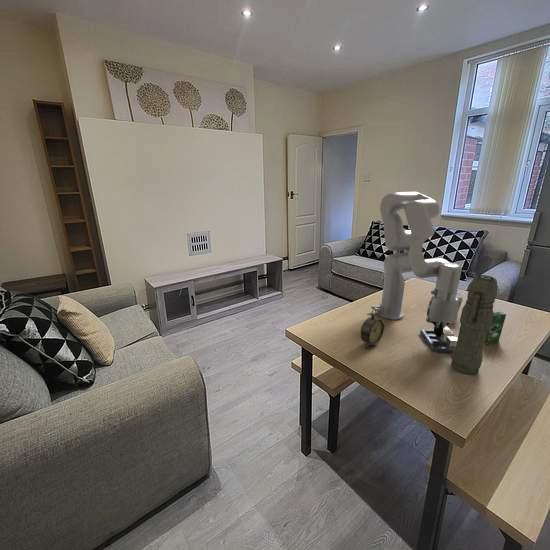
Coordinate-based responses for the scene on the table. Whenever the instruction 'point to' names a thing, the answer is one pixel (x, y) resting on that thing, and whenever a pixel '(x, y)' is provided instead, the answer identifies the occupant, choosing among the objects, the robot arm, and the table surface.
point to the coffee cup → (459, 300)
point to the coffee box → (495, 328)
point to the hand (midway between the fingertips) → (437, 335)
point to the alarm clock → (372, 330)
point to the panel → (439, 342)
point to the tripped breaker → (445, 334)
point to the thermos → (474, 325)
